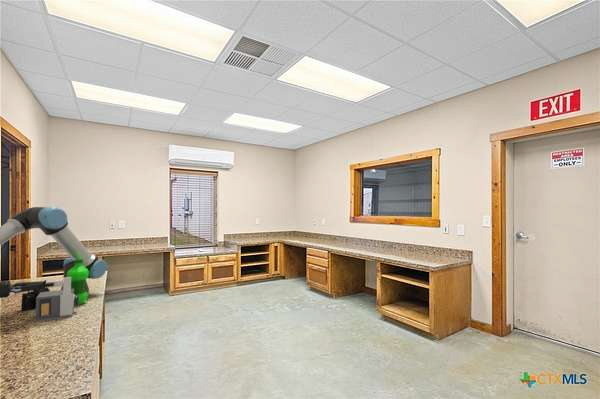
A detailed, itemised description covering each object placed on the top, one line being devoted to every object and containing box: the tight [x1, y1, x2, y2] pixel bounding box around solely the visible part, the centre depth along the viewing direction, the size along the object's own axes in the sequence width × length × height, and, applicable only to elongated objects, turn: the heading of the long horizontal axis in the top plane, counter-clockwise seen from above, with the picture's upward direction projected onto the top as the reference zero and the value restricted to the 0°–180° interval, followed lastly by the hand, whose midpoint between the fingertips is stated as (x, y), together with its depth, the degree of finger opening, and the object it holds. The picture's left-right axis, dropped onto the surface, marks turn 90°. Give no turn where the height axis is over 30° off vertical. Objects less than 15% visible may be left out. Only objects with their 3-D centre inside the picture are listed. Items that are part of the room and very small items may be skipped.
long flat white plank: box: [60, 277, 74, 316], centre depth 152 cm, size 1×5×18 cm, turn 123°
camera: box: [20, 287, 51, 312], centre depth 167 cm, size 14×11×10 cm
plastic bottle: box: [67, 259, 89, 306], centre depth 173 cm, size 10×10×25 cm
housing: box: [35, 289, 80, 323], centre depth 155 cm, size 13×16×11 cm
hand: (62, 283), depth 151 cm, fingers closed
